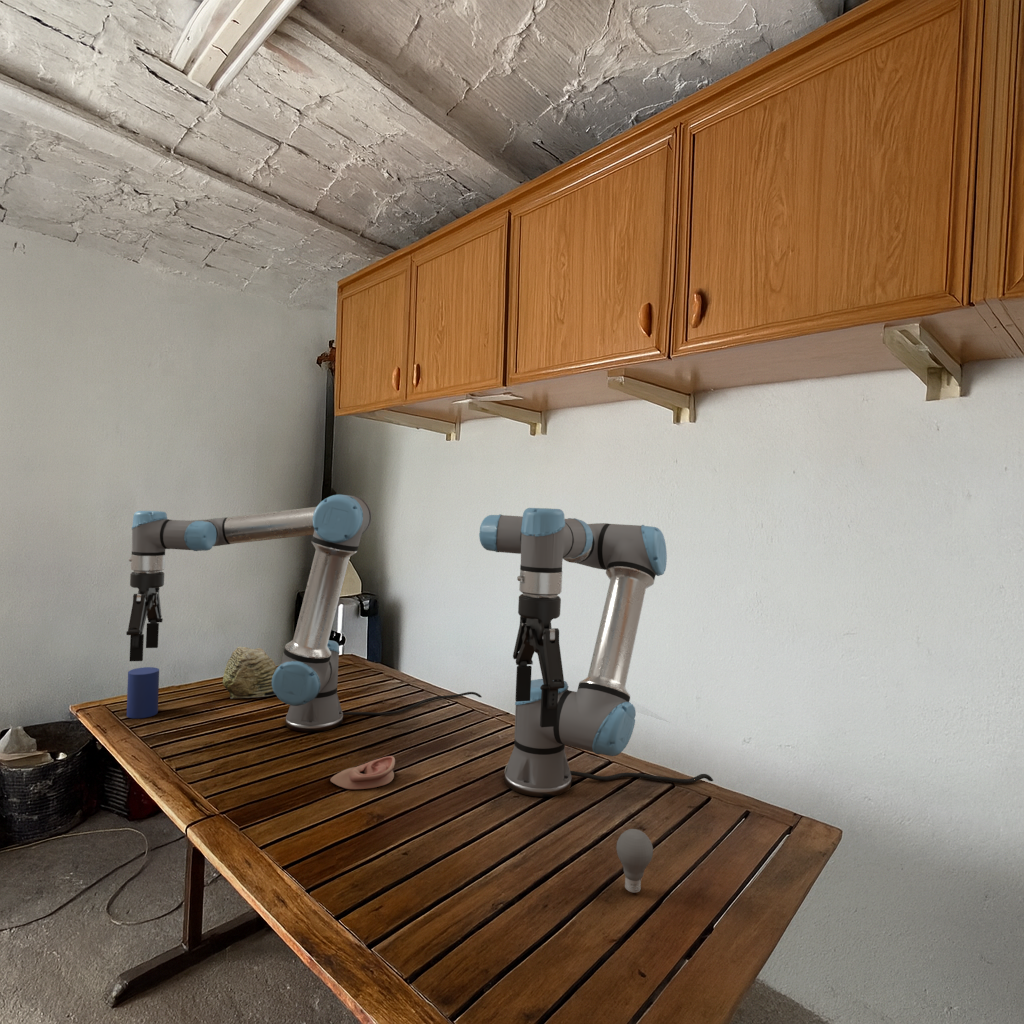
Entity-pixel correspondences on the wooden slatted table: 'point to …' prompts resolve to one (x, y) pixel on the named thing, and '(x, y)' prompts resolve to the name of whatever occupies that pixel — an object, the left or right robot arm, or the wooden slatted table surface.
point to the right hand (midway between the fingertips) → (534, 712)
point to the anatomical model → (366, 774)
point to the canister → (142, 692)
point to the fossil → (249, 673)
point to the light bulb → (634, 857)
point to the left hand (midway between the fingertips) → (144, 654)
